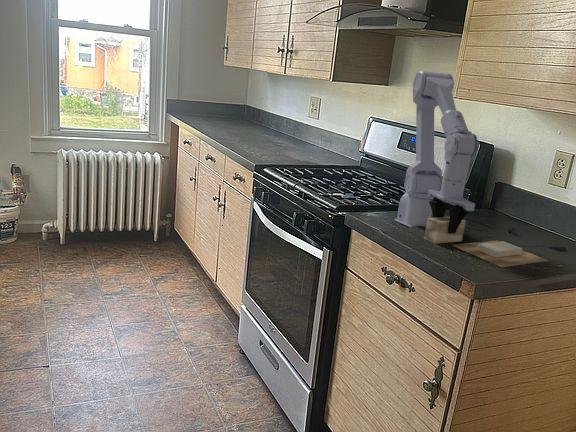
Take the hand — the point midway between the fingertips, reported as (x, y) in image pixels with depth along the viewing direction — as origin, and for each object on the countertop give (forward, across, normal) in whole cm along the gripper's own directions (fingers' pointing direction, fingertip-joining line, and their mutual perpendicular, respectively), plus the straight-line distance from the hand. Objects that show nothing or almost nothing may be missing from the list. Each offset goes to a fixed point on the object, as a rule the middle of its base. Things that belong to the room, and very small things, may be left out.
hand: (444, 230), depth 145 cm
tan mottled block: (+4, 0, 0) cm, 4 cm away
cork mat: (+4, +12, +8) cm, 15 cm away
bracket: (+5, +5, +29) cm, 30 cm away
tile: (+2, +9, +8) cm, 12 cm away
